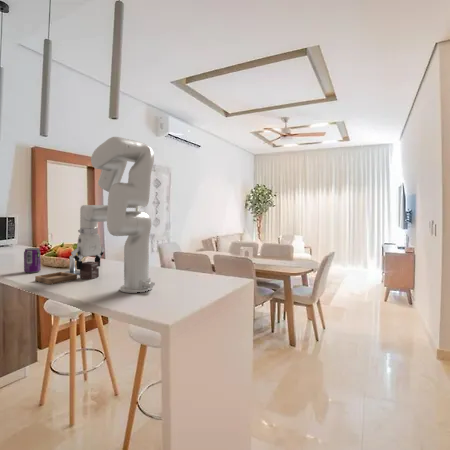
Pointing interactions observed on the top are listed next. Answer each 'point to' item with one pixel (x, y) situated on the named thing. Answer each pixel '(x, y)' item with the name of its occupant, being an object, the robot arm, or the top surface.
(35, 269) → the beverage can
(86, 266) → the box
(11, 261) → the top surface
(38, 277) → the tray
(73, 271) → the gauge stand
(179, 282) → the top surface
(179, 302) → the top surface
